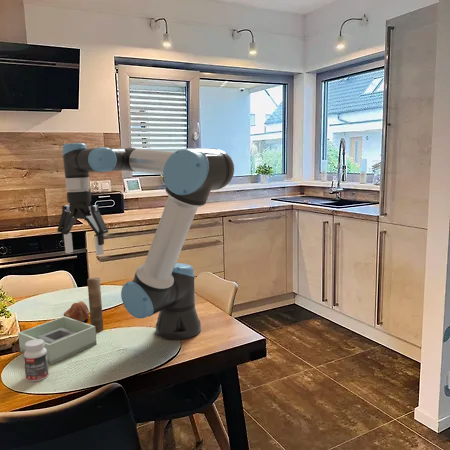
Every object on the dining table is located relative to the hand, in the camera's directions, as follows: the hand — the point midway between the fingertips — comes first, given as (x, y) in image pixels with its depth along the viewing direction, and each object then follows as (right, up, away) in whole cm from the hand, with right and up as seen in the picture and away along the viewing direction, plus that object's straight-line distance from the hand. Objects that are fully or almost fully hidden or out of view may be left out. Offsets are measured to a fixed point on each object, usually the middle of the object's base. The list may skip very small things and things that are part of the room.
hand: (84, 253), depth 144 cm
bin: (-4, -29, -12) cm, 31 cm away
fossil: (-6, -25, +10) cm, 28 cm away
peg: (+4, -26, +2) cm, 27 cm away
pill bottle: (-3, -32, -29) cm, 43 cm away
